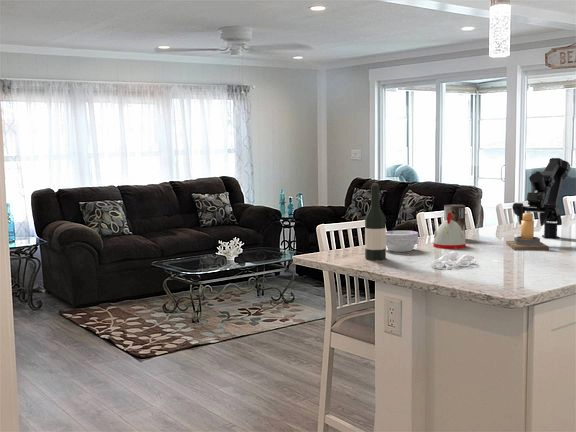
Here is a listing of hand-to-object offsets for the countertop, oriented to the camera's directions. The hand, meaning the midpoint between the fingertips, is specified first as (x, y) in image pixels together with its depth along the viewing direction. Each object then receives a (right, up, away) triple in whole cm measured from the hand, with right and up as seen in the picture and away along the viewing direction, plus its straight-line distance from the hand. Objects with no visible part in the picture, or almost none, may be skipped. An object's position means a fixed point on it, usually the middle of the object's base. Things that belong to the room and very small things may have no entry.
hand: (530, 224), depth 293 cm
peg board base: (-2, -10, -2) cm, 10 cm away
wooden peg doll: (-2, -8, -2) cm, 9 cm away
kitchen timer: (-34, -10, +4) cm, 36 cm away
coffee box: (-27, -7, +24) cm, 37 cm away
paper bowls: (-57, -11, -4) cm, 59 cm away
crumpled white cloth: (-43, -15, -40) cm, 61 cm away
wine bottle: (-70, -13, -23) cm, 75 cm away
